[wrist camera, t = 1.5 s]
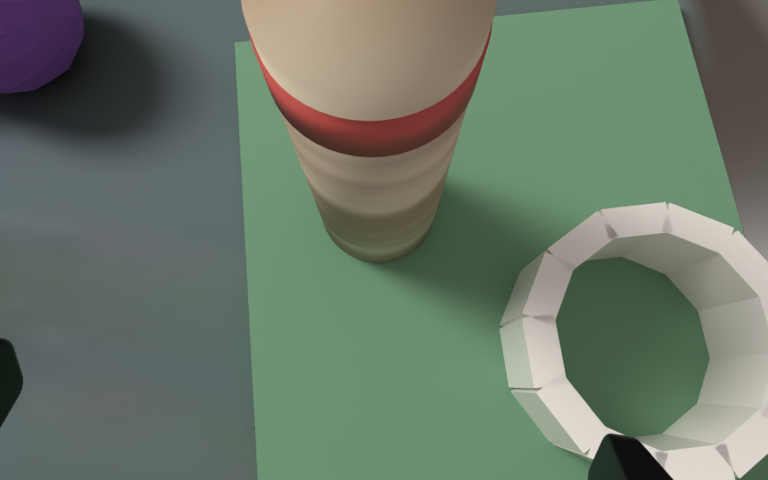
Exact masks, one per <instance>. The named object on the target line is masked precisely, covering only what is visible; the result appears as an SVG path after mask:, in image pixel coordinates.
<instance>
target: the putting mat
mask: <svg viewBox="0 0 768 480" xmlns="http://www.w3.org/2000/svg"><path fill="white" fill-rule="evenodd" d="M235 58H236V77H237V96H238V115H239V134H240V153H241V172H242V191H243V210H244V229H245V248H246V266H247V285H248V304H249V323H250V342H251V361H252V380H253V399H254V418H255V437H256V456H257V475H258V480H588V472H589V468H590V465H591V463H592V462H591V461H589V460H587V459H584V458H582V457H580V456H578V455H575V454H573V453H571V452H569V451H566V450H564V449H562V448H560V447H557V446H555V445H553V443H552V442H549V441H548V440H547V438H546V437H545V436H544V434H543V433H542V432H541V430H540V429H539V428H538V427H537V425H536V424H535V423H534V421H533V420H532V419H531V417H530V416H529V415H528V413H527V412H526V411H525V410H524V408H523V407H522V406H521V404H520V403H519V402H518V400H517V399H516V398H515V397H514V395H513V394H512V393H511V391H512V390H513V389H514V388H509V385H508V379H507V373H506V367H505V361H504V355H503V349H502V342H501V336H500V330H499V329H500V328H502V327H504V326H501V325H500V323H501V320H502V317H503V315H504V312H505V309H506V307H507V304H508V302H509V299H510V296H511V294H512V291H513V288H514V286H515V283H516V281H517V278H518V275H519V273H520V272H521V271H522V269H524V268H525V267H526V266H527V265H528V264H530V263H531V262H532V261H533V260H535V259H536V258H537V257H538V256H539V255H541V254H542V253H543V252H544V251H545V250H547V249H548V248H549V247H550V246H552V245H553V244H554V243H556V242H557V241H558V240H560V239H561V238H562V237H564V236H565V235H566V234H567V233H569V232H570V231H571V230H573V229H574V228H575V227H577V226H578V225H579V224H581V223H582V222H583V221H585V220H586V219H587V218H589V217H590V216H591V215H592V214H594V213H595V212H596V211H598V212H599V211H600V210H601V209H607V208H616V207H625V206H634V205H643V204H653V203H662V202H666V205H667V204H669V203H672V204H675V205H677V206H680V207H682V208H685V209H687V210H690V211H693V212H695V213H698V214H700V215H703V216H705V217H708V218H710V219H713V220H716V221H718V222H721V223H723V224H726V225H728V226H731V227H733V228H734V229H733V232H736V231H739V232H740V233H741V234H742V235H743V236H744V237H745V235H744V231H743V228H742V224H741V221H740V217H739V214H738V210H737V207H736V203H735V200H734V196H733V193H732V189H731V186H730V182H729V179H728V175H727V172H726V168H725V164H724V161H723V157H722V154H721V150H720V147H719V143H718V140H717V136H716V133H715V129H714V126H713V122H712V119H711V115H710V112H709V108H708V105H707V101H706V98H705V94H704V91H703V87H702V84H701V80H700V77H699V73H698V70H697V66H696V63H695V59H694V56H693V52H692V48H691V45H690V41H689V38H688V34H687V31H686V27H685V24H684V20H683V17H682V13H681V10H680V6H679V3H678V0H655V1H645V2H635V3H625V4H615V5H605V6H595V7H585V8H575V9H565V10H555V11H545V12H535V13H525V14H515V15H505V16H495V17H494V18H493V21H492V31H491V36H490V41H489V45H488V48H487V51H486V54H485V58H484V61H483V64H482V68H481V71H480V74H479V77H478V81H477V84H476V87H475V90H474V92H473V95H472V98H471V99H470V101H469V103H468V106H467V109H466V113H465V116H464V119H463V123H462V126H461V129H460V133H459V136H458V140H457V143H456V146H455V150H454V153H453V156H452V160H451V163H450V167H449V170H448V173H447V177H446V180H445V183H444V187H443V190H442V194H441V197H440V200H439V204H438V207H437V210H436V214H435V217H434V221H433V224H432V227H431V229H430V231H429V233H428V235H427V237H426V238H425V239H424V241H423V242H422V243H421V244H420V245H419V246H418V247H417V248H416V249H415V250H414V251H413V252H411V253H409V254H408V255H406V256H404V257H402V258H400V259H397V260H394V261H389V262H381V263H375V262H367V261H362V260H359V259H356V258H354V257H352V256H350V255H348V254H347V253H345V252H344V251H342V250H341V249H340V248H339V247H338V246H337V245H336V244H335V243H334V242H333V241H332V239H331V238H330V236H329V235H328V233H327V231H326V229H325V226H324V224H323V221H322V218H321V216H320V213H319V211H318V208H317V206H316V203H315V200H314V198H313V195H312V193H311V190H310V187H309V185H308V182H307V180H306V177H305V174H304V172H303V169H302V167H301V164H300V161H299V159H298V156H297V154H296V151H295V148H294V146H293V143H292V141H291V138H290V135H289V133H288V130H287V128H286V125H285V122H284V120H283V117H282V115H281V112H280V110H279V109H278V107H277V106H276V104H275V102H274V99H273V97H272V95H271V93H270V90H269V88H268V85H267V83H266V80H265V78H264V75H263V73H262V70H261V68H260V65H259V63H258V60H257V57H256V55H255V52H254V49H253V46H252V43H251V41H246V42H236V43H235ZM745 239H746V238H745ZM555 322H556V327H557V332H558V338H559V343H560V348H561V353H562V359H563V364H564V369H565V375H566V378H567V380H568V381H569V382H570V383H571V385H572V386H573V387H574V388H575V390H576V391H577V392H578V393H579V395H580V396H581V397H582V398H583V400H584V401H585V402H586V403H587V405H588V406H589V407H590V408H591V410H592V411H593V412H594V413H595V415H596V416H597V417H598V418H599V420H600V421H601V422H602V423H603V425H604V426H605V427H607V428H610V429H612V430H614V431H616V432H619V433H621V434H623V435H626V436H632V437H640V436H648V435H656V434H662V433H663V432H664V431H666V430H667V429H668V428H669V427H670V426H671V425H673V424H674V423H675V422H676V421H677V420H678V419H680V418H681V417H682V416H683V415H684V414H685V413H687V412H688V411H689V410H690V409H691V408H692V407H694V406H695V405H696V404H697V402H698V399H699V395H700V392H701V388H702V385H703V381H704V378H705V374H706V370H707V367H708V363H709V360H710V356H709V352H708V348H707V345H706V341H705V337H704V333H703V329H702V325H701V321H700V317H699V313H698V311H697V309H696V308H695V307H694V306H693V305H692V304H691V303H690V302H689V300H688V299H687V298H686V297H685V296H684V295H683V294H682V292H681V291H680V290H679V289H678V288H677V287H676V286H675V284H674V283H673V282H672V281H671V280H670V279H669V278H668V277H667V275H666V274H663V273H661V272H658V271H656V270H653V269H651V268H648V267H646V266H644V265H641V264H639V263H636V262H634V261H631V260H629V259H626V258H624V257H615V258H606V259H597V260H588V261H584V262H583V263H582V264H580V265H579V266H578V267H576V268H575V269H574V270H573V272H572V275H571V278H570V281H569V283H568V286H567V289H566V292H565V295H564V297H563V300H562V303H561V306H560V309H559V311H558V314H557V317H556V320H555ZM735 480H768V454H767V455H766V456H764V457H763V458H762V459H761V460H760V461H759V462H758V463H757V464H756V465H754V466H753V467H752V468H751V469H750V470H749V471H748V472H747V473H746V474H744V475H743V476H742V477H741V478H737V477H735Z"/></svg>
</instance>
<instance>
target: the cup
mask: <svg viewBox="0 0 768 480" xmlns="http://www.w3.org/2000/svg"><path fill="white" fill-rule="evenodd" d="M733 229H734V228H733V227H731V226H728V225H726V224H723V223H721V222H718V221H716V220H713V219H710V218H708V217H705V216H703V215H700V214H698V213H695V212H693V211H690V210H687V209H685V208H682V207H680V206H677V205H675V204H672V203H669V204H667V205H666V202H662V203H653V204H643V205H634V206H625V207H616V208H607V209H601V210H600V211H599V212H598V211H596V212H595V213H594V214H592V215H591V216H590V217H589V218H587V219H586V220H585V221H583V222H582V223H581V224H579V225H578V226H577V227H575V228H574V229H573V230H571V231H570V232H569V233H567V234H566V235H565V236H564V237H562V238H561V239H560V240H558V241H557V242H556V243H554V244H553V245H552V246H550V247H549V248H548V249H547V250H545V251H544V252H543V253H542V254H541V255H539V256H538V257H537V258H536V259H535V260H533V261H532V262H531V263H530V264H528V265H527V266H526V267H525V268H524V269H522V271H521V272H520V273H519V275H518V278H517V281H516V283H515V286H514V288H513V291H512V294H511V296H510V299H509V302H508V304H507V307H506V309H505V312H504V315H503V317H502V320H501V323H500V325H501V326H504V327H502V328H500V329H499V330H500V336H501V342H502V349H503V355H504V361H505V367H506V373H507V379H508V385H509V388H514V389H513V390H512V391H511V393H512V394H513V395H514V397H515V398H516V399H517V400H518V402H519V403H520V404H521V406H522V407H523V408H524V410H525V411H526V412H527V413H528V415H529V416H530V417H531V419H532V420H533V421H534V423H535V424H536V425H537V427H538V428H539V429H540V430H541V432H542V433H543V434H544V436H545V437H546V438H547V440H548V441H549V442H552V443H553V445H555V446H557V447H560V448H562V449H564V450H566V451H569V452H571V453H573V454H575V455H578V456H580V457H582V458H584V459H587V460H589V461H591V462H592V461H593V459H594V457H595V454H596V452H597V450H598V448H599V446H600V443H601V441H602V439H603V438H604V436H605V435H607V434H609V433H613V434H619V435H623V434H621V433H619V432H616V431H614V430H612V429H610V428H607V427H605V426H604V425H603V423H602V422H601V421H600V420H599V418H598V417H597V416H596V415H595V413H594V412H593V411H592V410H591V408H590V407H589V406H588V405H587V403H586V402H585V401H584V400H583V398H582V397H581V396H580V395H579V393H578V392H577V391H576V390H575V388H574V387H573V386H572V385H571V383H570V382H569V381H568V380H567V378H566V375H565V369H564V364H563V359H562V353H561V348H560V343H559V338H558V332H557V327H556V322H555V320H556V317H557V314H558V311H559V309H560V306H561V303H562V300H563V297H564V295H565V292H566V289H567V286H568V283H569V281H570V278H571V275H572V272H573V270H574V269H575V268H576V267H578V266H579V265H580V264H582V263H583V262H584V261H588V260H597V259H606V258H615V257H624V258H626V259H629V260H631V261H634V262H636V263H639V264H641V265H644V266H646V267H648V268H651V269H653V270H656V271H658V272H661V273H663V274H666V275H667V277H668V278H669V279H670V280H671V281H672V282H673V283H674V284H675V286H676V287H677V288H678V289H679V290H680V291H681V292H682V294H683V295H684V296H685V297H686V298H687V299H688V300H689V302H690V303H691V304H692V305H693V306H694V307H695V308H696V309H697V311H698V313H699V317H700V321H701V325H702V329H703V333H704V337H705V341H706V345H707V348H708V352H709V356H710V360H709V363H708V367H707V370H706V374H705V378H704V381H703V385H702V388H701V392H700V395H699V399H698V402H697V404H696V405H695V406H694V407H692V408H691V409H690V410H689V411H688V412H687V413H685V414H684V415H683V416H682V417H681V418H680V419H678V420H677V421H676V422H675V423H674V424H673V425H671V426H670V427H669V428H668V429H667V430H666V431H664V432H663V433H662V434H656V435H648V436H640V437H634V438H636V439H638V440H639V441H640V442H641V443H642V444H643V445H644V446H645V448H646V449H647V450H648V451H649V452H650V453H651V454H652V456H653V457H654V458H655V459H656V460H657V461H658V462H659V463H660V465H661V466H662V467H663V468H664V469H665V470H666V471H667V473H668V474H669V475H670V476H671V477H672V478H673V479H674V480H735V477H737V478H741V477H742V476H743V475H744V474H746V473H747V472H748V471H749V470H750V469H751V468H752V467H753V466H754V465H756V464H757V463H758V462H759V461H760V460H761V459H762V458H763V457H764V456H766V455H767V454H768V262H767V261H766V260H765V259H764V258H763V257H762V256H761V255H760V254H759V252H758V251H757V250H756V249H755V248H754V247H753V246H752V245H751V244H750V243H749V242H748V241H747V240H746V239H745V237H744V236H743V235H742V234H741V233H740V232H739V231H736V232H733Z"/></svg>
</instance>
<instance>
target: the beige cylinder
mask: <svg viewBox="0 0 768 480" xmlns="http://www.w3.org/2000/svg"><path fill="white" fill-rule="evenodd" d="M241 3H242V10H243V14H244V17H245V20H246V24H247V26H248V29H249V34H250V39H251V43H252V46H253V49H254V52H255V55H256V57H257V60H258V63H259V65H260V68H261V70H262V73H263V75H264V78H265V80H266V83H267V85H268V88H269V90H270V93H271V95H272V97H273V99H274V102H275V104H276V106H277V107H278V109H279V110H280V112H281V115H282V117H283V120H284V122H285V125H286V128H287V130H288V133H289V135H290V138H291V141H292V143H293V146H294V148H295V151H296V154H297V156H298V159H299V161H300V164H301V167H302V169H303V172H304V174H305V177H306V180H307V182H308V185H309V187H310V190H311V193H312V195H313V198H314V200H315V203H316V206H317V208H318V211H319V213H320V216H321V218H322V221H323V224H324V226H325V229H326V231H327V233H328V235H329V236H330V238H331V239H332V241H333V242H334V243H335V244H336V245H337V246H338V247H339V248H340V249H341V250H342V251H344V252H345V253H347V254H348V255H350V256H352V257H354V258H356V259H359V260H362V261H367V262H375V263H381V262H389V261H394V260H397V259H400V258H402V257H404V256H406V255H408V254H409V253H411V252H413V251H414V250H415V249H416V248H417V247H418V246H419V245H420V244H421V243H422V242H423V241H424V239H425V238H426V237H427V235H428V233H429V231H430V229H431V227H432V224H433V221H434V217H435V214H436V210H437V207H438V204H439V200H440V197H441V194H442V190H443V187H444V183H445V180H446V177H447V173H448V170H449V167H450V163H451V160H452V156H453V153H454V150H455V146H456V143H457V140H458V136H459V133H460V129H461V126H462V123H463V119H464V116H465V113H466V109H467V106H468V103H469V101H470V99H471V98H472V95H473V92H474V90H475V87H476V84H477V81H478V77H479V74H480V71H481V68H482V64H483V61H484V58H485V54H486V51H487V48H488V45H489V41H490V36H491V31H492V21H493V18H494V15H495V10H496V5H497V0H241Z"/></svg>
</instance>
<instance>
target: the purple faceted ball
mask: <svg viewBox="0 0 768 480" xmlns="http://www.w3.org/2000/svg"><path fill="white" fill-rule="evenodd" d="M83 31H84V21H83V15H82V10H81V5H80V3H79V0H0V93H3V94H10V93H17V92H25V91H33V90H36V89H38V88H40V87H42V86H43V85H45V84H47V83H49V82H50V81H52V80H53V79H55V78H56V77H58V76H59V75H61V74H62V73H64V72H65V71H67V70H68V69H69V68H70V66H71V64H72V61H73V59H74V57H75V55H76V52H77V50H78V48H79V46H80V43H81V41H82V39H83Z"/></svg>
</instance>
